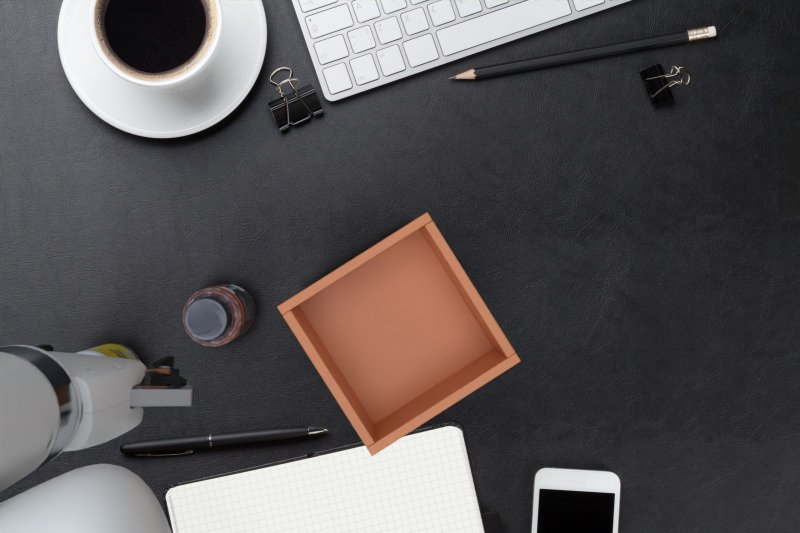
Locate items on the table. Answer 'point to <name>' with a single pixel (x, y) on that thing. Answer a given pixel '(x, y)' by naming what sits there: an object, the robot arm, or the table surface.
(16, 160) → the table surface
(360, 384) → the bin
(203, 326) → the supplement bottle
